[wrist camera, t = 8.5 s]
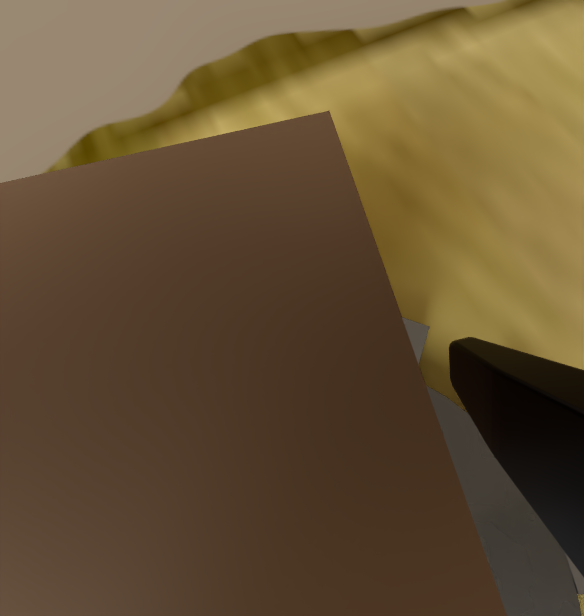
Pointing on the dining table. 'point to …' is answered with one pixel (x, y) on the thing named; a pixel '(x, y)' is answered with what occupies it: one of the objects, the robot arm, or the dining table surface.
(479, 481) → the sprocket plate
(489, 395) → the robot arm
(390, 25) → the dining table surface
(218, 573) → the link block
